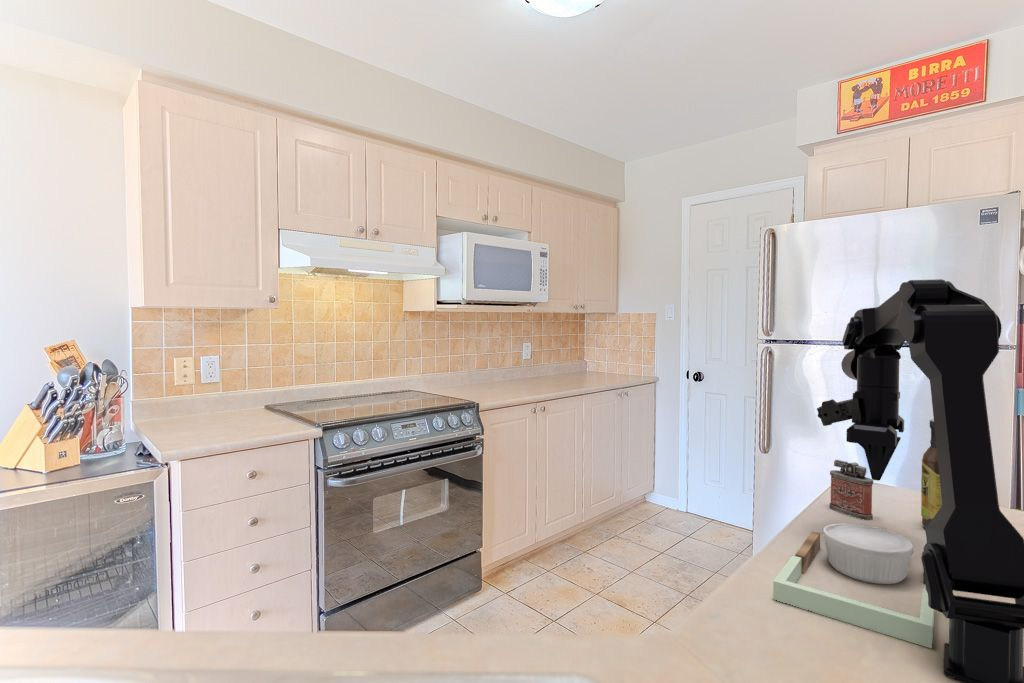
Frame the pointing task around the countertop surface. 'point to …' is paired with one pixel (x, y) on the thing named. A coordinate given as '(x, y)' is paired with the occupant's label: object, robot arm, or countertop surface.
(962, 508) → the robot arm
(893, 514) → the countertop surface
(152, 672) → the countertop surface
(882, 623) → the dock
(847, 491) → the lighter
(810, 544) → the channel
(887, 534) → the ramekin
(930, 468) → the sauce bottle
